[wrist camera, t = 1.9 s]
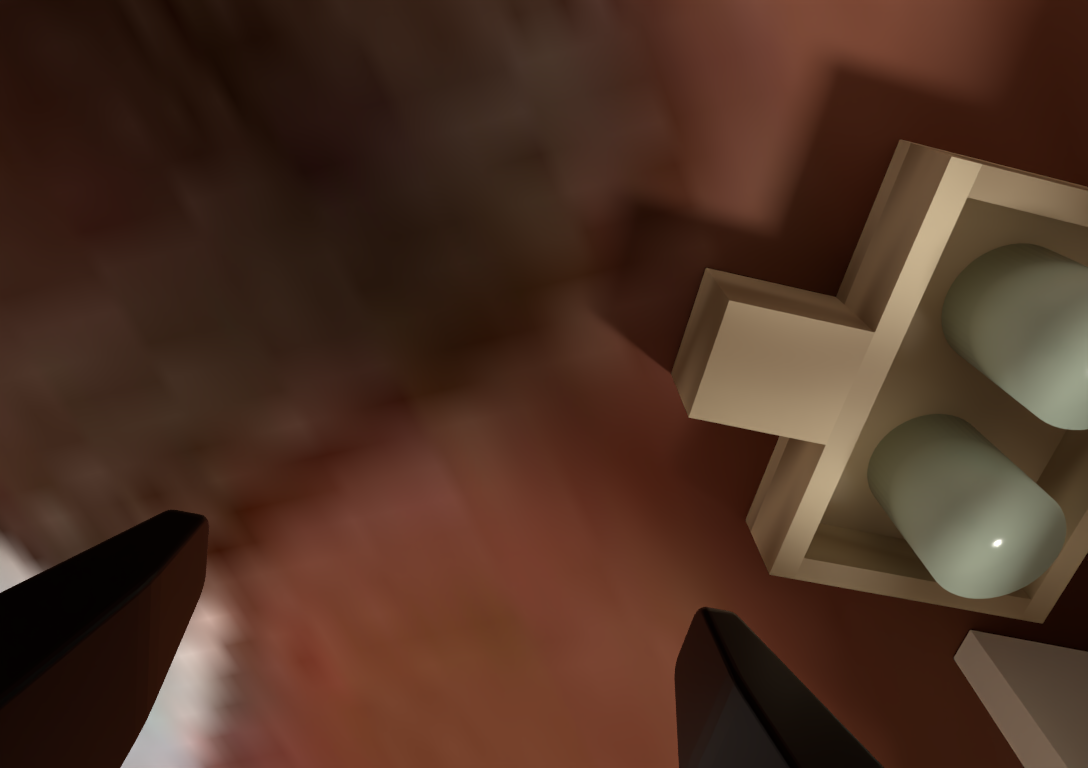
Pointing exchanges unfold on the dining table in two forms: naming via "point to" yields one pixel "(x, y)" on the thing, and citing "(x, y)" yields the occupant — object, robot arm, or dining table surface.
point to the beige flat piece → (884, 377)
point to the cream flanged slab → (1031, 696)
